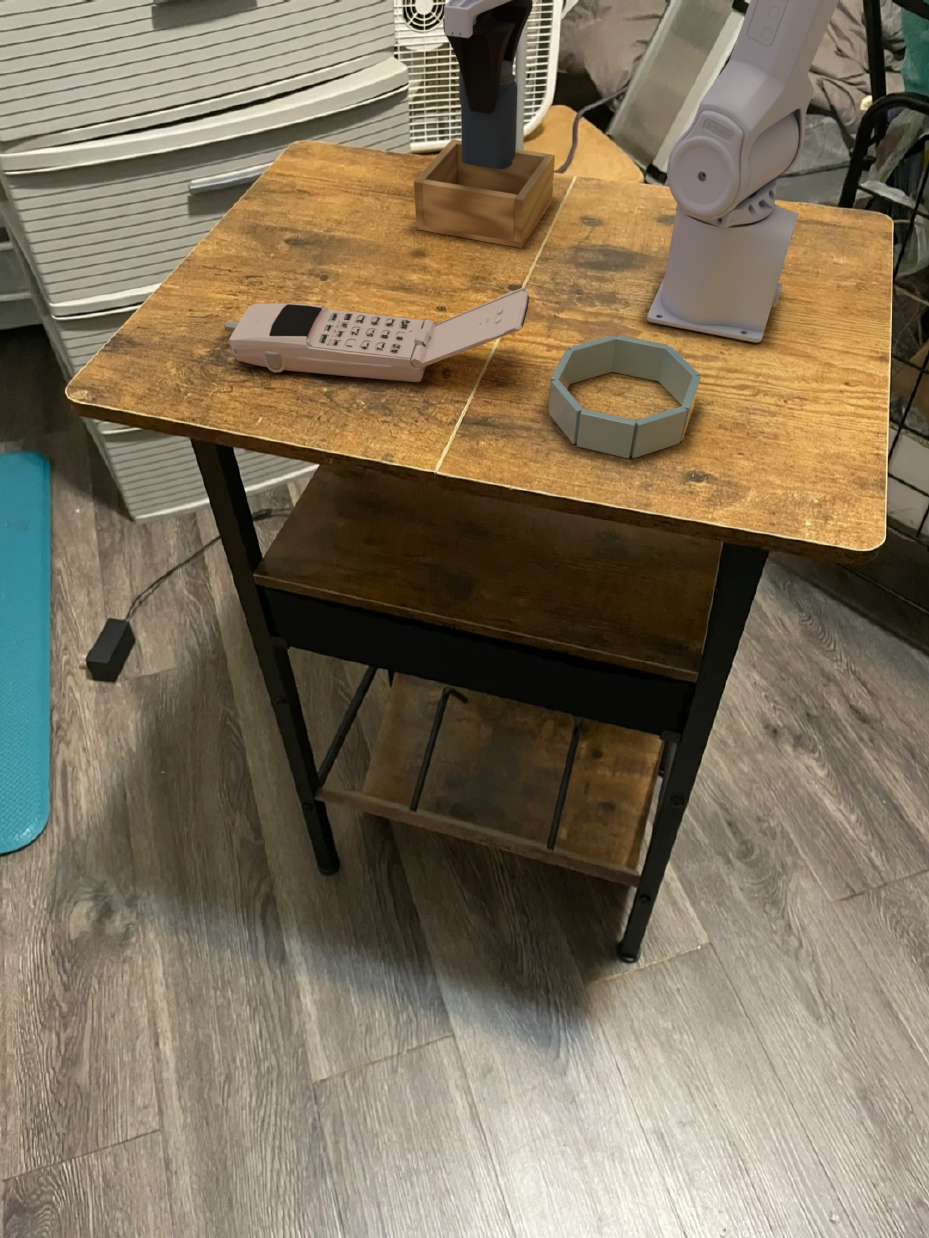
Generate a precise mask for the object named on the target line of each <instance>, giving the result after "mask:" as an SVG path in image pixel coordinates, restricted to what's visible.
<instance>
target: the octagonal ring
mask: <svg viewBox="0 0 929 1238" xmlns="http://www.w3.org/2000/svg"><path fill="white" fill-rule="evenodd" d="M609 373H615V374H620V375H626V376H631V377H635V378H640V379H644V380H650V381H654V382H658V383H659V384H660V385H661V386H662V387H663V388H664V389H665V390H666V391H667V392H668V393H669V394H670V395H671V396H672V398H673V399H675V400H676V401H677V402H678V403H679V405H681V406H678V407H675V408H671V409H668V410H665V411H661V412H658V413H655V414H652V415H648V416H645V417H642V418H639V419H632V418H627V417H622V416H618V415H614V414H609V413H605V412H600V411H597V410H591V409H587V408H583V407H582V405H581V404H580V402H579V401H577V400H576V398H575V397H574V396H573V395H572V394H571V392H570V391H569V390H568V389H569V387H570V385H571V384H576V383H579V382H582V381H585V380H589V379H593V378H596V377H599V376H603V375H606V374H609ZM700 374H701V373H699V372H698V371H697V370H696V369H695V368H694V367H693V366H692V365H691V364H690V363H689V362H688V361H687V360H686V359H685V358H684V357H683V356H682V355H681V354H680V353H679V352H677V350H675V348H673V347H672V346H668V344H666V343H661V342H656V341H651V340H645V339H641V338H636V337H631V336H625V335H621V334H617V335H616V336H615V335H614V334H611V335H607V336H602V337H601V338H597V339H593V340H590V341H586V342H583V343H578V344H575V345H572V346H569V347H568V349H567V348H566V349H565V350H564V353H563V354H562V356H561V358H560V360H559V361H558V364H557V365H556V367H555V370H554V371H553V373H552V375H551V377H550V382H549V383H550V384H549V396H548V407H547V408H548V415H549V416H550V418H551V419H552V420H553V421H554V423H555V424H556V425H557V427H559V429H560V430H561V431H562V432H563V434H564V435H565V436H566V437H567V439H568V441H570V442H571V444H572V445H576V447H578V448H581V449H585V450H586V449H587V450H591V451H594V452H599V453H603V454H608V455H612V456H616V457H621V458H625V459H630V458H632V459H635V458H639V457H642V456H645V455H648V454H652V453H654V452H657V451H660V450H664V449H667V448H670V447H673V446H677V445H679V444H680V442H683V440H684V438H685V434H686V431H687V428H688V426H689V423H690V420H691V417H692V414H693V411H694V407H695V403H696V398H697V394H698V390H699V387H700V383H701V376H700Z"/></svg>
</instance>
